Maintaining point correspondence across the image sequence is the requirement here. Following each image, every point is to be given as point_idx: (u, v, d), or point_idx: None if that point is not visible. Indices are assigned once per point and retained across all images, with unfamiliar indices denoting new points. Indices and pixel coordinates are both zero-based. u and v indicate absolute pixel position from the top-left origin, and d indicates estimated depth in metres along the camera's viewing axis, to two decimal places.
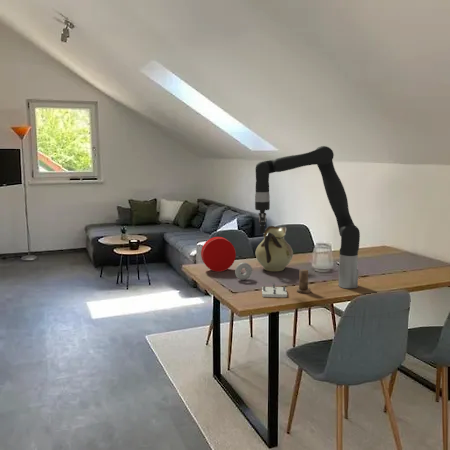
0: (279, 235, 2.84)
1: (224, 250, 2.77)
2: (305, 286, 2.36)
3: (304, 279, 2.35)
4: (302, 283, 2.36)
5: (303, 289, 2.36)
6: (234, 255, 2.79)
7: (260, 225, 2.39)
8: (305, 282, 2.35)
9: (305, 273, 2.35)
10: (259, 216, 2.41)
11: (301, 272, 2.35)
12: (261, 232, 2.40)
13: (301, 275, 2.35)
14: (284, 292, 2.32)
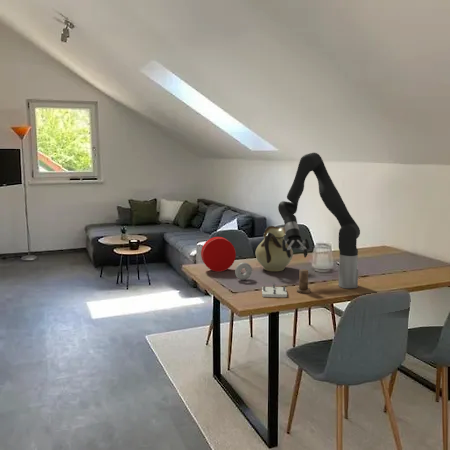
0: (279, 235, 2.84)
1: (224, 250, 2.77)
2: (305, 286, 2.36)
3: (304, 279, 2.35)
4: (302, 283, 2.36)
5: (303, 289, 2.36)
6: (234, 255, 2.79)
7: (286, 251, 2.50)
8: (305, 282, 2.35)
9: (305, 273, 2.35)
10: (289, 245, 2.53)
11: (301, 272, 2.35)
12: None
13: (301, 275, 2.35)
14: (284, 292, 2.32)
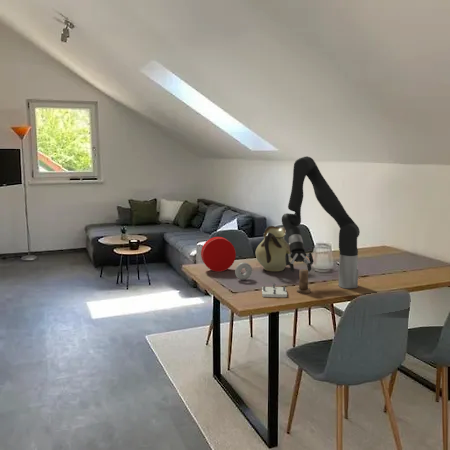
0: (279, 235, 2.84)
1: (224, 250, 2.77)
2: (305, 286, 2.36)
3: (304, 279, 2.35)
4: (302, 283, 2.36)
5: (303, 289, 2.36)
6: (234, 255, 2.79)
7: (290, 265, 2.43)
8: (305, 282, 2.35)
9: (305, 273, 2.35)
10: (293, 259, 2.47)
11: (301, 272, 2.35)
12: (292, 271, 2.41)
13: (301, 275, 2.35)
14: (284, 292, 2.32)
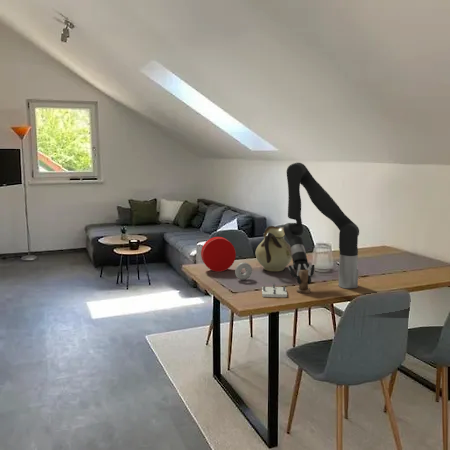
0: (279, 235, 2.84)
1: (224, 250, 2.77)
2: (305, 286, 2.36)
3: (304, 279, 2.35)
4: (302, 283, 2.36)
5: (303, 289, 2.36)
6: (234, 255, 2.79)
7: None
8: (305, 282, 2.35)
9: (305, 273, 2.35)
10: None
11: (301, 272, 2.35)
12: None
13: (301, 275, 2.35)
14: (284, 292, 2.32)
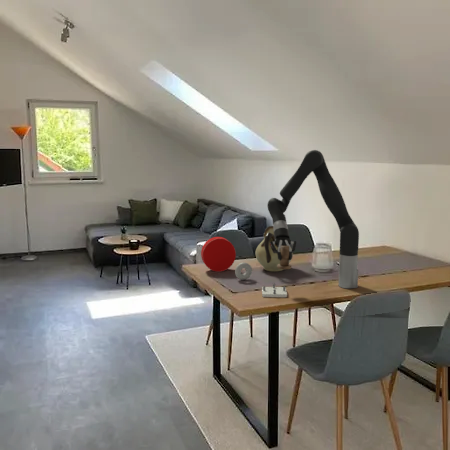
0: None
1: (224, 250, 2.77)
2: (286, 262, 2.33)
3: (285, 255, 2.32)
4: (283, 259, 2.32)
5: (284, 265, 2.33)
6: (234, 255, 2.79)
7: None
8: (286, 258, 2.32)
9: (286, 249, 2.31)
10: (278, 246, 2.38)
11: (282, 248, 2.32)
12: (279, 259, 2.33)
13: (282, 251, 2.32)
14: (284, 292, 2.32)
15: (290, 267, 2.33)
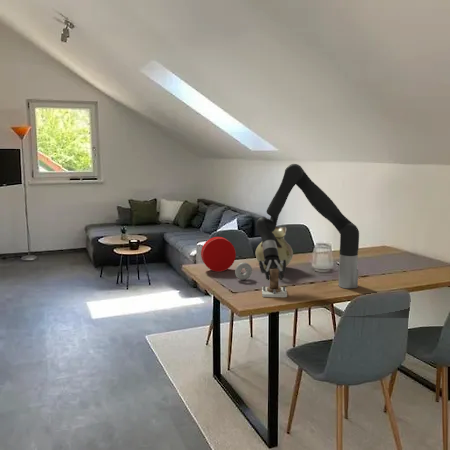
0: (279, 235, 2.84)
1: (224, 250, 2.77)
2: (275, 285, 2.33)
3: (274, 278, 2.32)
4: (272, 282, 2.33)
5: (273, 288, 2.33)
6: (234, 255, 2.79)
7: None
8: (275, 281, 2.32)
9: (275, 272, 2.32)
10: None
11: (271, 271, 2.32)
12: (267, 279, 2.33)
13: (271, 274, 2.32)
14: (284, 292, 2.32)
15: (280, 290, 2.33)
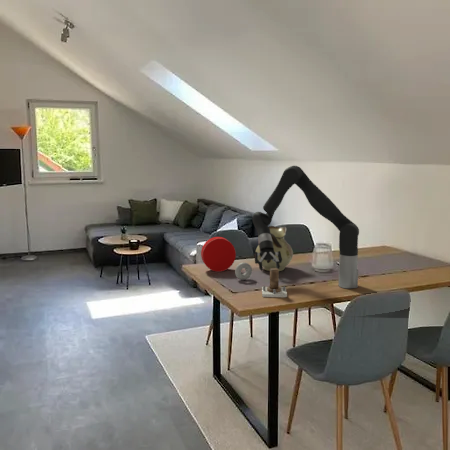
0: (279, 235, 2.84)
1: (224, 250, 2.77)
2: (275, 285, 2.33)
3: (274, 278, 2.32)
4: (272, 282, 2.33)
5: (273, 288, 2.33)
6: (234, 255, 2.79)
7: (259, 264, 2.47)
8: (275, 281, 2.32)
9: (275, 272, 2.32)
10: None
11: (271, 271, 2.32)
12: None
13: (271, 274, 2.32)
14: (284, 292, 2.32)
15: (280, 290, 2.33)
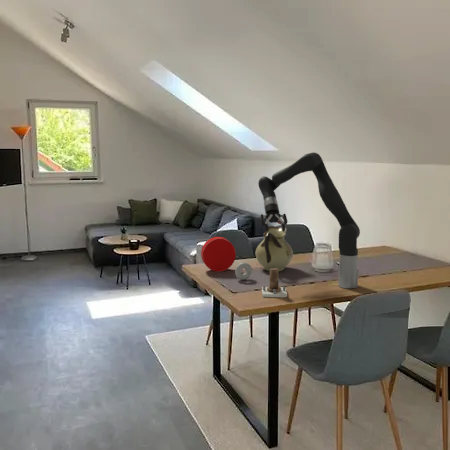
0: (279, 235, 2.84)
1: (224, 250, 2.77)
2: (275, 285, 2.33)
3: (274, 278, 2.32)
4: (272, 282, 2.33)
5: (273, 288, 2.33)
6: (234, 255, 2.79)
7: None
8: (275, 281, 2.32)
9: (275, 272, 2.32)
10: None
11: (271, 271, 2.32)
12: None
13: (271, 274, 2.32)
14: (284, 292, 2.32)
15: (280, 290, 2.33)
